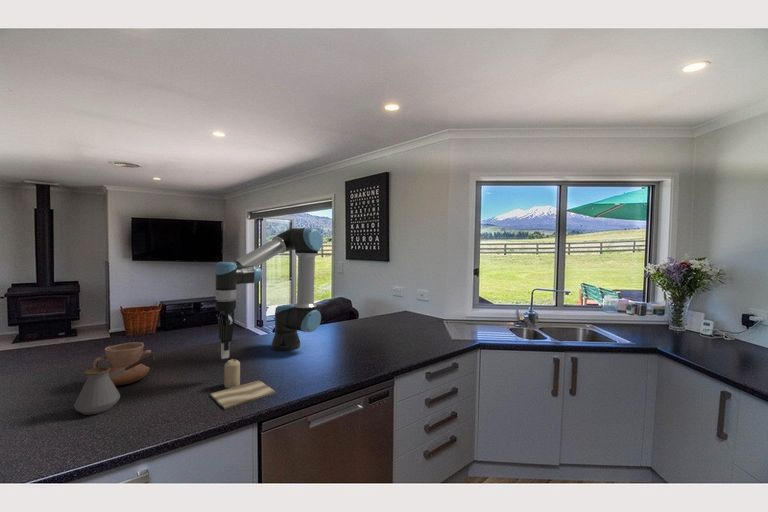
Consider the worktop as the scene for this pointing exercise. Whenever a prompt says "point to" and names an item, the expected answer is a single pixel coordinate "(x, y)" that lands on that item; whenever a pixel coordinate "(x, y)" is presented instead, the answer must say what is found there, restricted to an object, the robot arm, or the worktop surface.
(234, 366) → the candle
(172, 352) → the worktop surface
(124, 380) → the stacked tan cups
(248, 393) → the birch board
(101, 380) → the coffee pot
